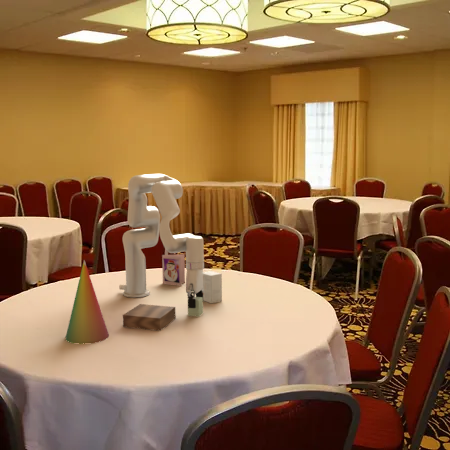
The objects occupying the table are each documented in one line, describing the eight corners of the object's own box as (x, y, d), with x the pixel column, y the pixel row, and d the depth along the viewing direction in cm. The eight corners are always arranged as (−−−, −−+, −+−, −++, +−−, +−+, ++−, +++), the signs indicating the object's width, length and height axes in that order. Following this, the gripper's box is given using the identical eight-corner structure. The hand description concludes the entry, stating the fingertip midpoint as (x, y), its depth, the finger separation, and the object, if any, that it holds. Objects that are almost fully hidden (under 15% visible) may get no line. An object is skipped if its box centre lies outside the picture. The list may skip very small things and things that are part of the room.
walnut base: (123, 327, 232) (122, 314, 231) (140, 315, 247) (140, 303, 247) (160, 330, 228) (160, 318, 227) (175, 318, 243) (175, 307, 242)
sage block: (187, 315, 247) (187, 299, 246) (191, 312, 252) (191, 296, 251) (199, 316, 246) (198, 300, 244) (202, 313, 250) (202, 297, 249)
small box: (222, 301, 268) (222, 273, 266) (211, 303, 264) (211, 275, 262) (211, 297, 275) (211, 270, 273) (200, 299, 271) (200, 272, 269)
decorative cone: (65, 346, 211) (61, 265, 207) (65, 331, 227) (61, 256, 222) (110, 341, 216) (107, 262, 211) (107, 328, 231) (104, 254, 227)
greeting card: (161, 283, 300) (161, 255, 298) (169, 280, 307) (169, 252, 305) (180, 286, 295) (180, 257, 293) (188, 283, 302) (187, 254, 299)
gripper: (193, 260, 255) (194, 299, 257) (179, 269, 238) (180, 309, 241) (209, 261, 252) (210, 300, 255) (196, 270, 236) (197, 311, 238)
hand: (195, 304), depth 248 cm, fingers open, 9 cm apart
